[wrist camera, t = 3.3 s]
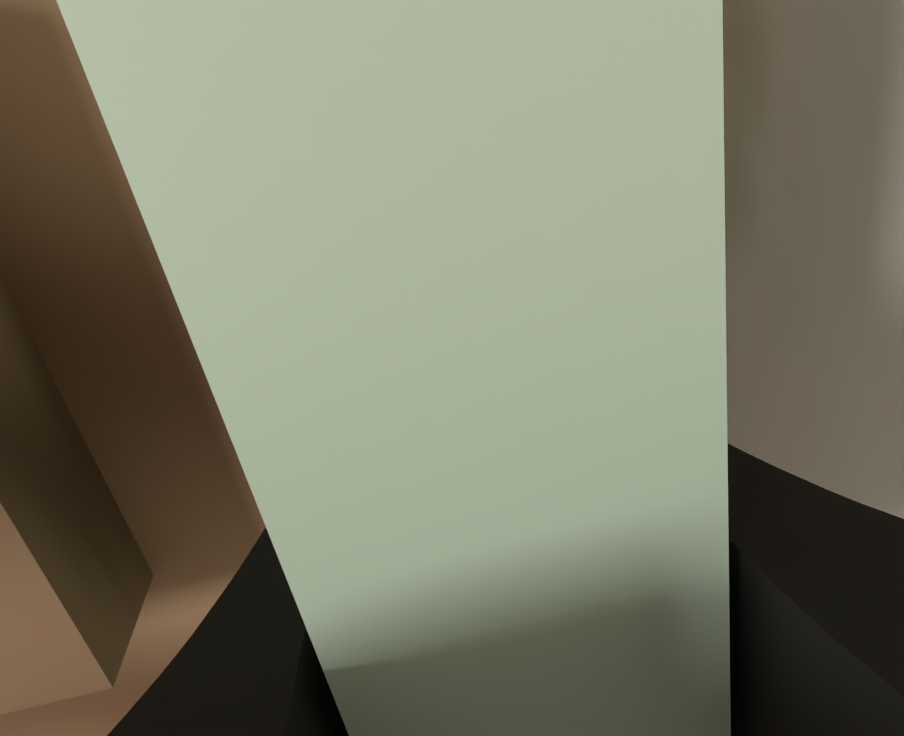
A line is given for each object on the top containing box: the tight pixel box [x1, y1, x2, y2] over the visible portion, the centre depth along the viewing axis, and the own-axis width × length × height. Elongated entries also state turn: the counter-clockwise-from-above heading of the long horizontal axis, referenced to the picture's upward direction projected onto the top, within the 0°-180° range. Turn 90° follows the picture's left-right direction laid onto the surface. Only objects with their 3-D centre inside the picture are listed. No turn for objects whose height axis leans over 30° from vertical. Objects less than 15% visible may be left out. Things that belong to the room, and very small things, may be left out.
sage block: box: [56, 0, 731, 736], centre depth 9 cm, size 14×3×6 cm, turn 11°
